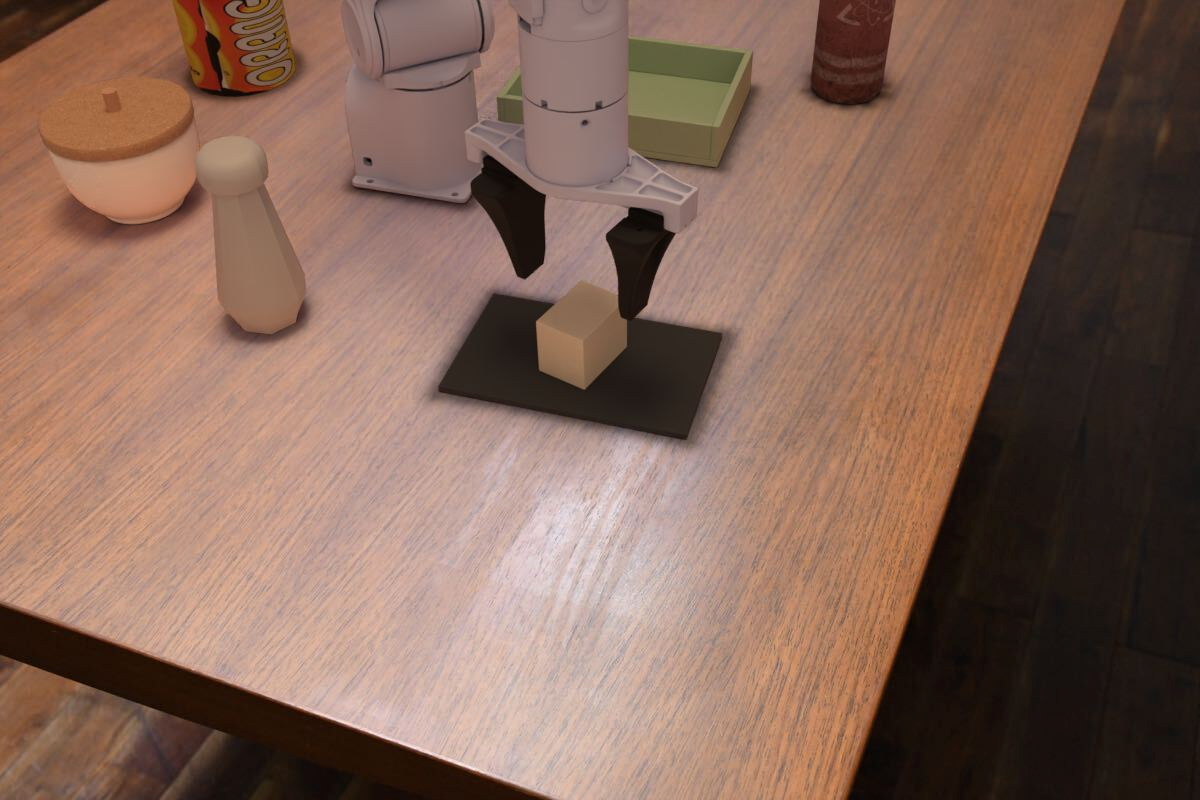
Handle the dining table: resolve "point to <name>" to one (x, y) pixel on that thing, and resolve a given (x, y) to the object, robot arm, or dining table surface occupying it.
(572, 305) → the tan wooden block
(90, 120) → the trinket box
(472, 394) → the mat
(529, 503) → the dining table surface
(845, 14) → the can
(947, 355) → the dining table surface
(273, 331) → the salt shaker
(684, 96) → the bin
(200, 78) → the beverage can
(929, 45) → the dining table surface
